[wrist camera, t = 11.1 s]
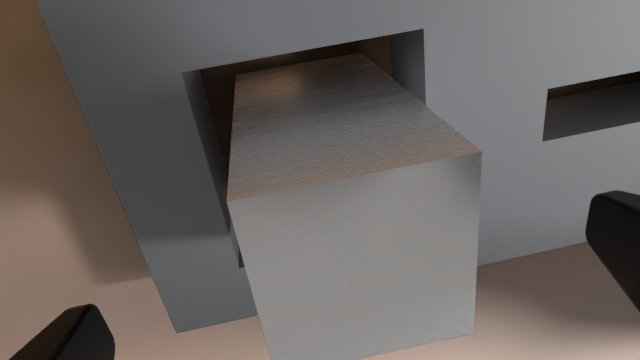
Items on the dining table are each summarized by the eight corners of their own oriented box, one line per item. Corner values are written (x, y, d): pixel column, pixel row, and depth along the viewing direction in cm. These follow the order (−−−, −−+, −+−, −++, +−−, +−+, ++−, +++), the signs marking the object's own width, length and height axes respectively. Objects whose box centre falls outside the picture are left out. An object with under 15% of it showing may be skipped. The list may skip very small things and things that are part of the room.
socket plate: (670, 170, 18) (744, 206, 15) (187, 273, 17) (176, 333, 14) (748, -120, 13) (875, -139, 11) (81, -9, 12) (34, 0, 9)
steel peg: (370, 164, 16) (474, 332, 9) (261, 185, 15) (275, 377, 8) (360, 52, 14) (482, 151, 7) (235, 74, 13) (226, 202, 6)
